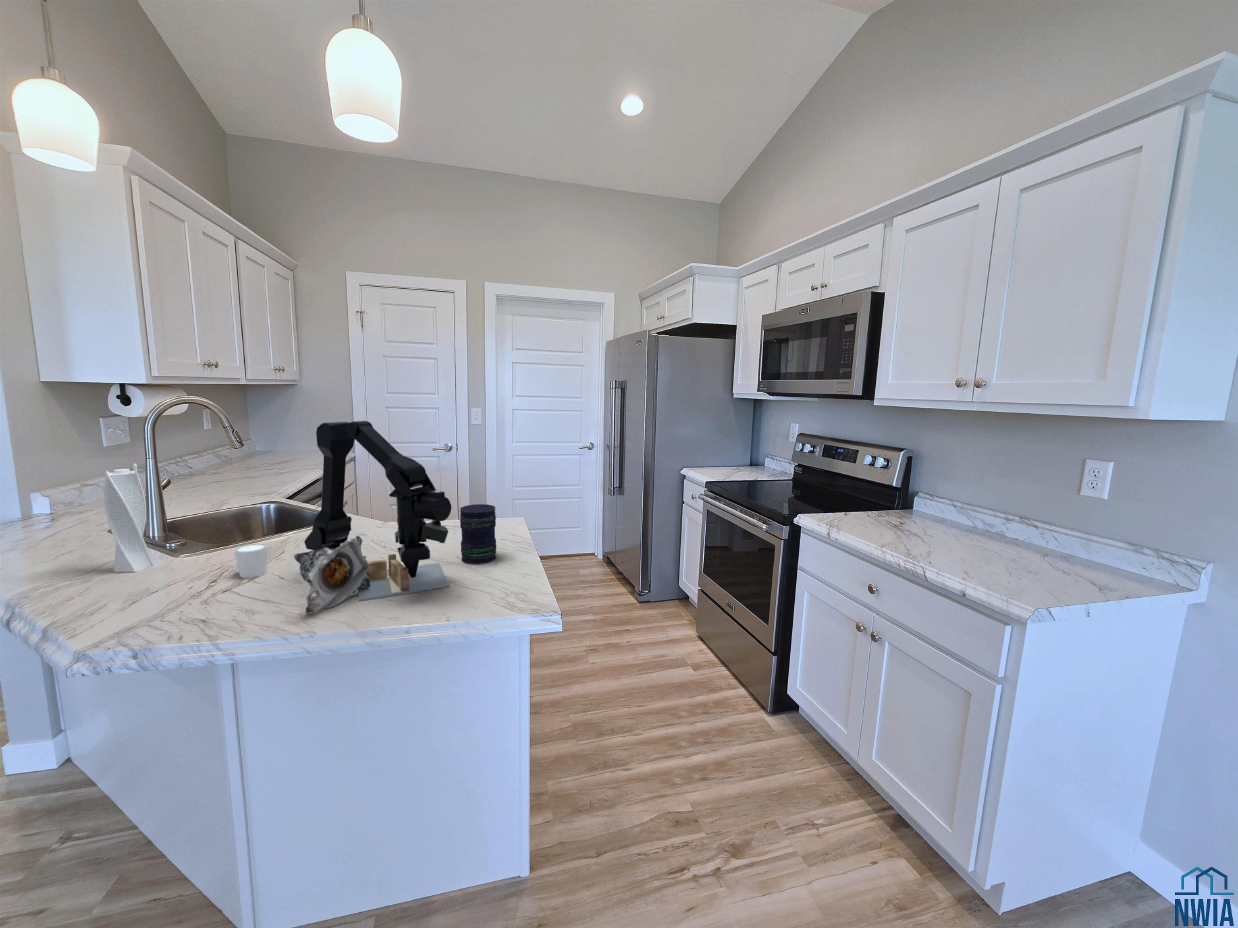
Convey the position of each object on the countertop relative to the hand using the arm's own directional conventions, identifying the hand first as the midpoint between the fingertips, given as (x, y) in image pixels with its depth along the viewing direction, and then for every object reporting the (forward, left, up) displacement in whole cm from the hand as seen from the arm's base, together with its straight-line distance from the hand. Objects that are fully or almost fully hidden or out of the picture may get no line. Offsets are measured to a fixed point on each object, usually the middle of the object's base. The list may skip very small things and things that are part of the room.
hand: (413, 577), depth 124 cm
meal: (-16, -2, -2) cm, 17 cm away
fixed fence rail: (-9, +8, -2) cm, 12 cm away
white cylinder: (-36, +26, -3) cm, 44 cm away
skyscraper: (-64, +43, -2) cm, 77 cm away
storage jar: (+19, +14, -3) cm, 23 cm away
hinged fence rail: (-3, +2, -1) cm, 4 cm away
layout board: (-2, +5, -2) cm, 6 cm away
